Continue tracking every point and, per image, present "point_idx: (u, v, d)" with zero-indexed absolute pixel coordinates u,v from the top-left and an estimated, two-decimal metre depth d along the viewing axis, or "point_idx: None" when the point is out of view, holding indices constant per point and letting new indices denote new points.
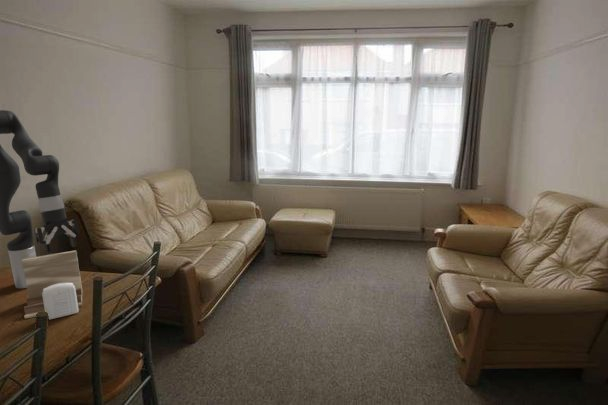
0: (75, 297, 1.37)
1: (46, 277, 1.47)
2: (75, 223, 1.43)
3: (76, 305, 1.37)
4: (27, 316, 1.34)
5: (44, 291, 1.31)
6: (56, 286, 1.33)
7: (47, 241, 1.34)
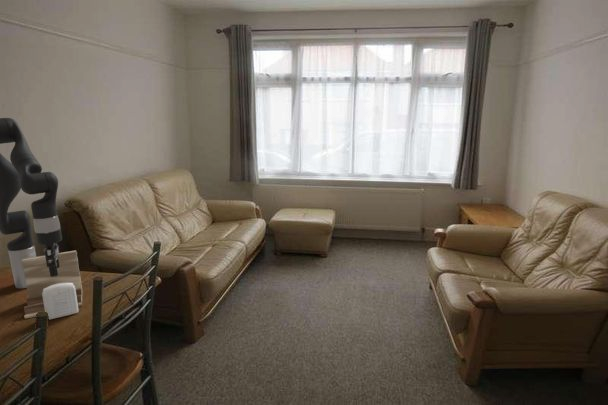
0: (75, 297, 1.37)
1: (46, 277, 1.47)
2: (56, 243, 1.36)
3: (76, 305, 1.37)
4: (27, 316, 1.34)
5: (44, 291, 1.31)
6: (56, 286, 1.33)
7: (56, 262, 1.28)
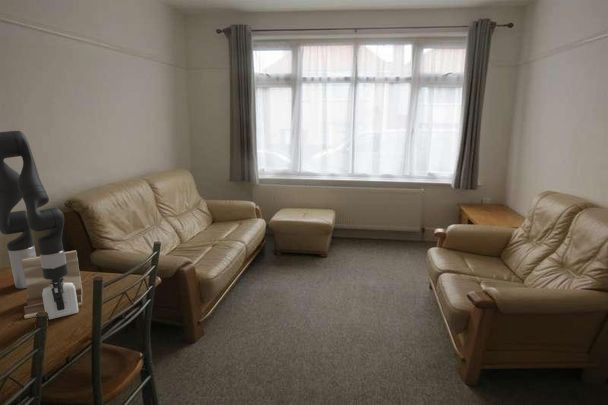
0: (75, 297, 1.37)
1: None
2: (62, 278, 1.39)
3: (76, 305, 1.37)
4: (27, 316, 1.34)
5: (44, 291, 1.31)
6: None
7: (62, 297, 1.33)
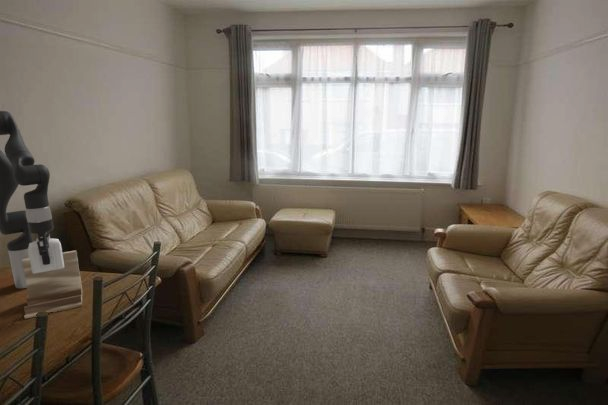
0: (61, 253, 1.40)
1: (46, 277, 1.47)
2: None
3: (62, 261, 1.41)
4: (27, 316, 1.34)
5: (30, 245, 1.34)
6: None
7: (48, 251, 1.36)
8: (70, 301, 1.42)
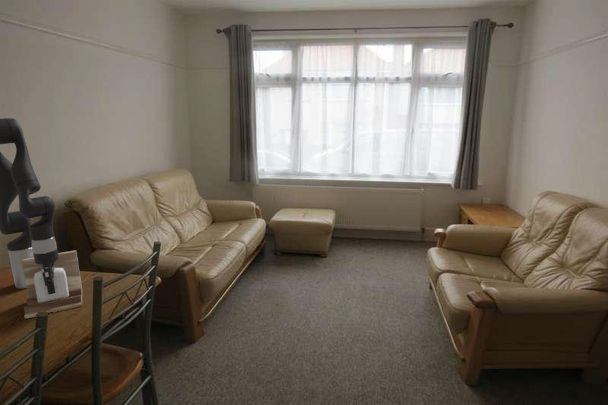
0: (65, 282, 1.43)
1: None
2: (53, 264, 1.45)
3: (66, 289, 1.43)
4: (27, 316, 1.34)
5: (35, 275, 1.37)
6: None
7: (53, 281, 1.39)
8: (70, 301, 1.42)
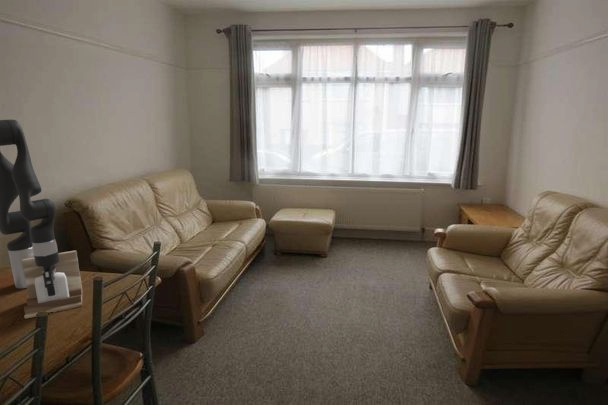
0: (66, 286, 1.43)
1: None
2: (54, 263, 1.46)
3: (67, 294, 1.44)
4: (27, 316, 1.34)
5: (36, 280, 1.38)
6: None
7: (53, 283, 1.38)
8: (70, 301, 1.42)
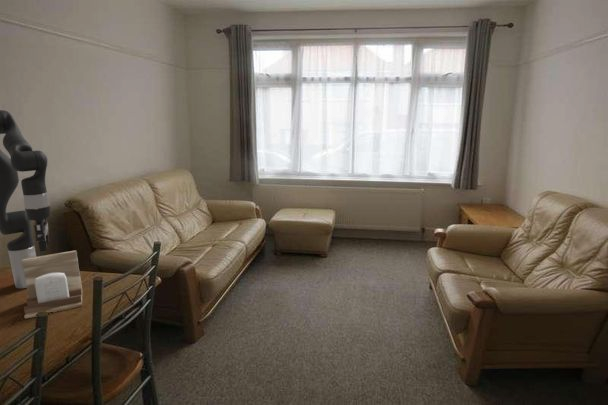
0: (66, 286, 1.43)
1: None
2: (46, 220, 1.42)
3: (67, 294, 1.44)
4: (27, 316, 1.34)
5: (36, 280, 1.37)
6: (48, 275, 1.39)
7: (45, 238, 1.34)
8: (70, 301, 1.42)
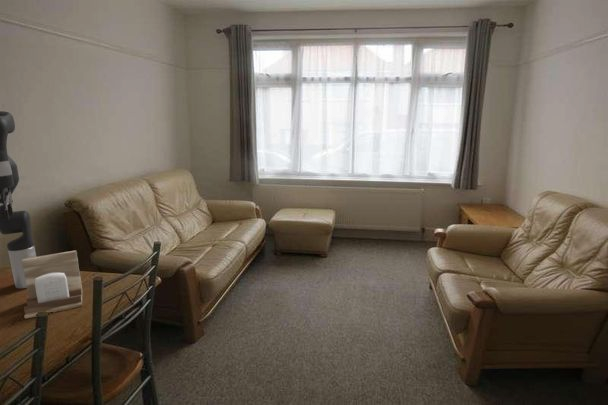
0: (66, 286, 1.43)
1: None
2: (10, 191, 1.38)
3: (67, 294, 1.44)
4: (27, 316, 1.34)
5: (36, 280, 1.37)
6: (48, 275, 1.39)
7: (6, 207, 1.29)
8: (70, 301, 1.42)
